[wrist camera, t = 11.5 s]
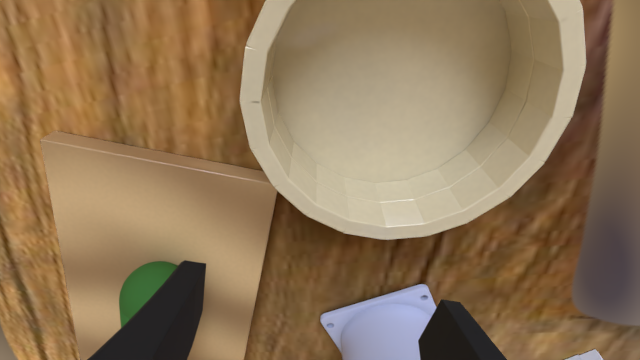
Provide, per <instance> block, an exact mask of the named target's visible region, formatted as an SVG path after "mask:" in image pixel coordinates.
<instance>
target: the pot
mask: <svg viewBox="0 0 640 360" xmlns="http://www.w3.org/2000/svg"><path fill="white" fill-rule="evenodd" d="M582 8H583V7H582V5H581V3H580V1H579V0H265V2H264V5H263V7H262V9H261V11H260V14H259V16H258V18H257V20H256V22H255V25H254V27H253V29H252V31H251V34H250V36H249V38H248V40H247V43H246V46H245V50H244V60H243V70H242V80H241V89H240V106H241V111H242V115H243V120H244V124H245V128H246V133H247V137H248V142H249V146H250V149H251V151H252V152H253V154H254V156H255V157H256V159H257V161H258V162H259V164H260V166H261V167H262V169H263V171H264V172H265V174H266V176H267V177H268V179H269V181H270V182H271V184H272V186H273V187H274V188H275V189H276V190H277V191H278V192H279V193H280V194H281V195H283V196H284V197H285V198H286V199H287V200H288V201H289V202H291V203H292V204H293V205H294V206H295V207H296V208H297V209H298V210H300V211H301V212H302V213H303V214H304V215H306V216H307V217H309V218H312V219H314V220H316V221H318V222H320V223H322V224H325V225H327V226H329V227H331V228H333V229H335V230H338V231H340V232H343V233H345V234H351V235H357V236H363V237H369V238H375V239H381V240H390V239H402V238H414V237H426V236H430V235H433V234H436V233H439V232H442V231H445V230H448V229H451V228H454V227H457V226H460V225H463V224H466V223H469V221H472V220H474V219H475V218H477V217H479V216H480V215H482V214H484V213H485V212H487V211H488V210H490V209H492V208H493V207H495V206H497V205H498V204H500V203H502V202H503V201H505V200H507V199H508V198H509V197H511V196H512V195H513V194H514V193H515V192H516V191H517V190H518V189H519V188H520V187H521V186H522V185H523V184H524V183H525V182H526V181H527V180H528V179H529V178H530V177H531V176H532V175H533V174H534V173H535V172H536V171H537V170H538V169H539V168H540V167H541V166H542V165H543V164H544V162H545V161H546V160H547V158H548V156H549V155H550V153H551V151H552V150H553V148H554V146H555V145H556V143H557V141H558V140H559V138H560V136H561V135H562V133H563V131H564V130H565V128H566V126H567V125H568V123H569V121H570V119H571V117H573V113H574V109H575V106H576V102H577V98H578V94H579V91H580V87H581V83H582V79H583V76H584V72H585V68H586V51H585V35H584V18H583V9H582Z"/></svg>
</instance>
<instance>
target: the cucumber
mask: <svg viewBox="0 0 640 360" xmlns="http://www.w3.org/2000/svg"><path fill="white" fill-rule="evenodd" d="M177 267H178V266H177V265H175V264H173V263H170V262H166V261H155V262H150V263H147V264H144V265H142V266H140V267H139V268H137V269H136V270H134V271H133V272H132V273H131V274H130V275H129V276H128V277H127V279H126V280H125V282H124V283H123V286H122V288H121V291H120V296H119V309H120V322H121V328H122V327H123V326H124V325H125V324H126V323H127V322H128V321H129V320H130V319H131V318H132V317H133V316H134V315H135V314H136V313H137V312H138V310H139V309H140V308H141V307H142V306H143V305H144V304H145V303H146V302H147V301H148V300H149V299H150V298H151V297H152V296H153V295H154V294H155V292H156V291H157V290H158V289H159V288H160V287H161V286H162V285H163V283H164V282H165V281H166V280H167V279H168V278H169V276H170V275H171V274H172V273H173V272H174V270H175V269H176V268H177Z"/></svg>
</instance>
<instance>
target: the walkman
mask: <svg viewBox="0 0 640 360" xmlns="http://www.w3.org/2000/svg"><path fill="white" fill-rule="evenodd" d="M565 360H603V359H602V357H601V356H600V355H599V353H598V352H597V351H596V349H594V350H592V351H589V352H587V353H584V354H582V355H579V356H578V355H575V356H573V357H570V358H568V359H565Z"/></svg>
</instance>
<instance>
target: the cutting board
mask: <svg viewBox="0 0 640 360" xmlns="http://www.w3.org/2000/svg"><path fill="white" fill-rule="evenodd" d="M40 143H41V148H42V154H43V159H44V165H45V170H46V176H47V181H48V186H49V192H50V197H51V203H52V208H53V214H54V219H55V225H56V230H57V235H58V241H59V246H60V252H61V257H62V263H63V268H64V274H65V279H66V284H67V290H68V295H69V301H70V306H71V312H72V317H73V322H74V328H75V333H76V339H77V344H78V350H79V355H80V360H87V359H88V358H90V357H91V356H92V355H93V354H94V353H95V352H96V351H97V350H98V349H99V348H101V347H102V346H103V345H104V344H105V343H106V342H107V341H108V340H109V339H110V338H111V337H112V336H113V335H114V334H115V333H116V332H117V331H119V330H120V329H121V322H120V309H119V296H120V291H121V288H122V286H123V283H124V282H125V280H126V279H127V277H128V276H129V275H130V274H131V273H132V272H133V271H134V270H136V269H137V268H139V267H140V266H142V265H144V264H147V263H150V262H155V261H166V262H170V263H173V264H175V265H177V266H178V265H179V264H180V263H181V262H183V261H184V260H186V261H193V262H199V263H206V274H205V287H204V300H203V311H202V315H201V318H200V322H199V325H198V329H197V332H196V335H195V339H194V342H193V346H192V348H191V351H190V353H189V356H188V358H187V360H244V357H245V352H246V347H247V342H248V337H249V332H250V327H251V322H252V317H253V312H254V307H255V302H256V297H257V292H258V287H259V282H260V277H261V272H262V267H263V262H264V257H265V252H266V247H267V242H268V237H269V232H270V227H271V222H272V217H273V212H274V207H275V202H276V197H277V192H278V191H277V190H276V189H275V188H274V187H273V186H272V184H271V182H270V181H269V179H268V177H267V176H266V174H265V172H264V171H259V170H254V169H249V168H244V167H239V166H234V165H228V164H223V163H218V162H213V161H208V160H203V159H198V158H192V157H187V156H182V155H177V154H172V153H167V152H162V151H156V150H151V149H146V148H141V147H136V146H131V145H126V144H121V143H115V142H110V141H105V140H100V139H95V138H90V137H85V136H79V135H74V134H69V133H64V132H59V131H53V132H52V133H50V134H48V135H47V136H45V137H43V138H42V139H41V140H40Z"/></svg>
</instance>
